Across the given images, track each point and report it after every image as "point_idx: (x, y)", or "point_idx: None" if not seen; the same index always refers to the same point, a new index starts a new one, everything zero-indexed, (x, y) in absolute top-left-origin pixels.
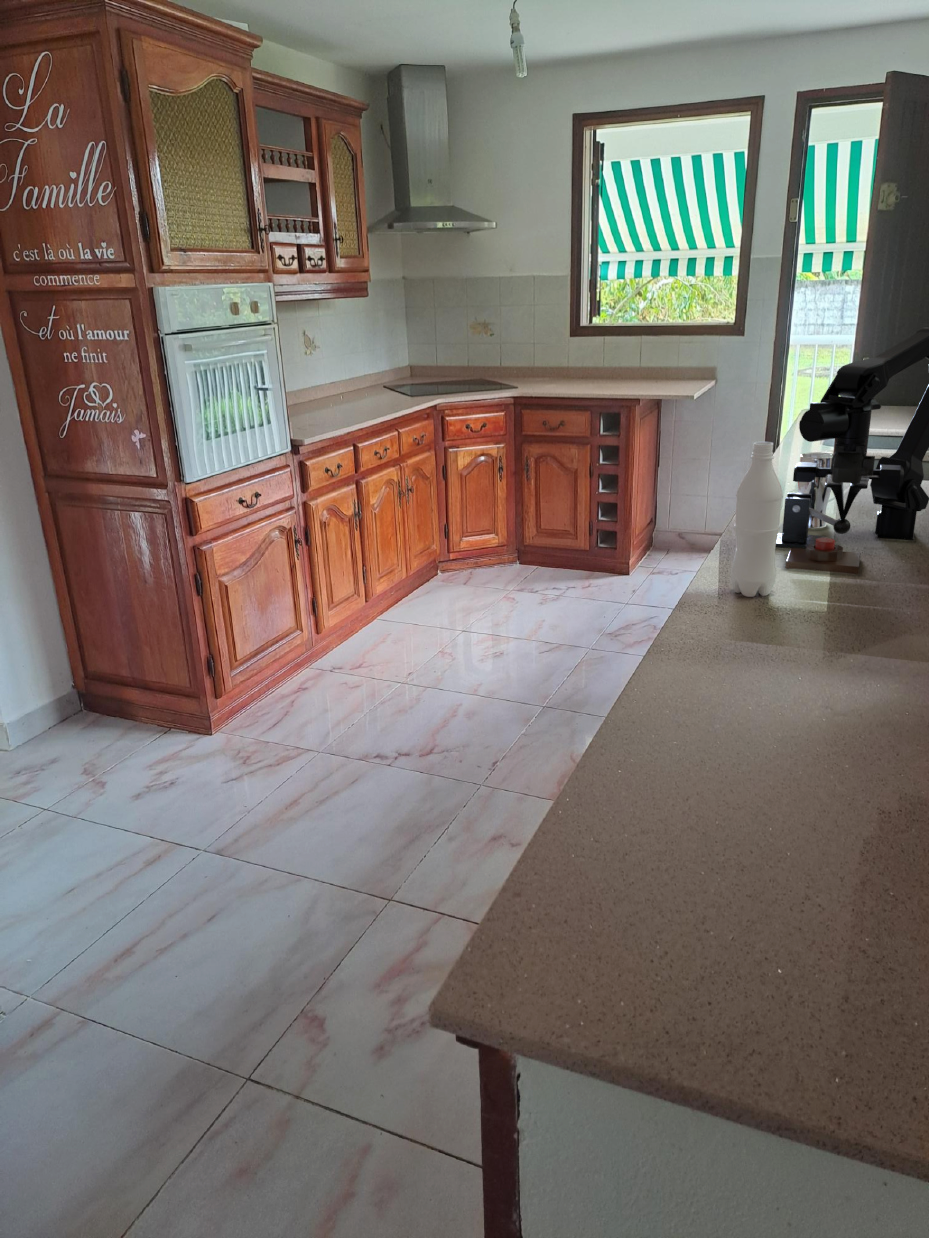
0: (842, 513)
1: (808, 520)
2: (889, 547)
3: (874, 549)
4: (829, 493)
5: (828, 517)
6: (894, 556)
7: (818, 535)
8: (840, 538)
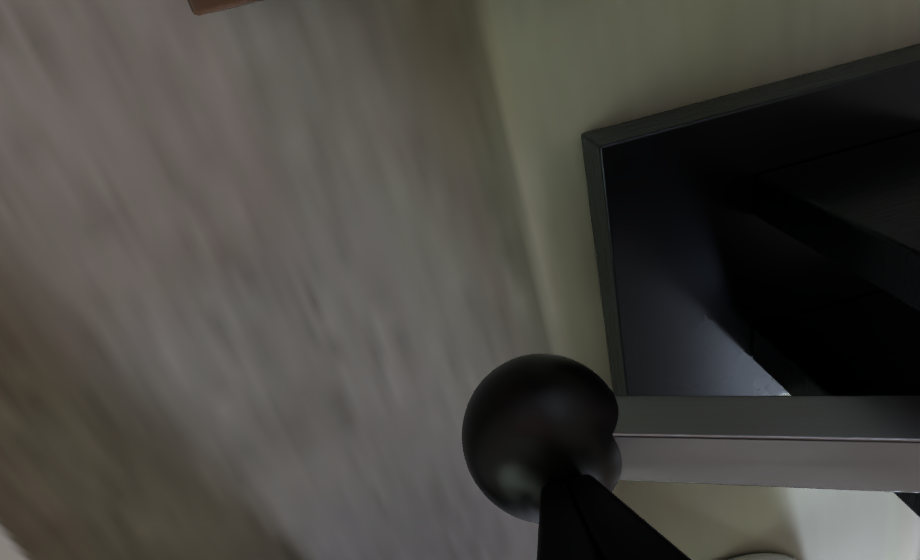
0: (596, 523)
1: None
2: (203, 499)
3: (268, 413)
4: None
5: (720, 445)
6: (53, 325)
7: None
8: None
